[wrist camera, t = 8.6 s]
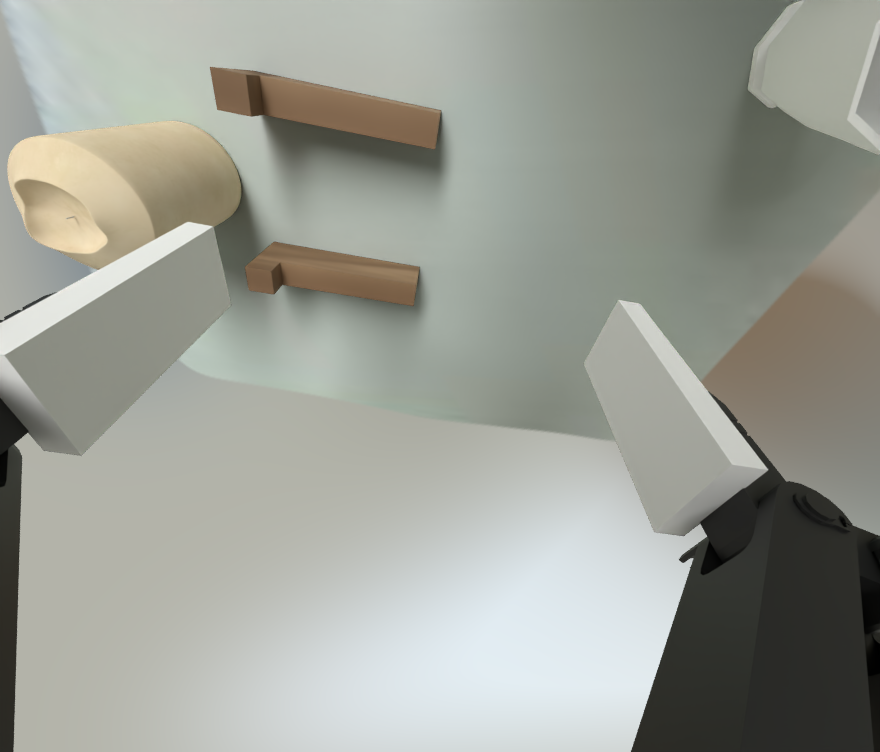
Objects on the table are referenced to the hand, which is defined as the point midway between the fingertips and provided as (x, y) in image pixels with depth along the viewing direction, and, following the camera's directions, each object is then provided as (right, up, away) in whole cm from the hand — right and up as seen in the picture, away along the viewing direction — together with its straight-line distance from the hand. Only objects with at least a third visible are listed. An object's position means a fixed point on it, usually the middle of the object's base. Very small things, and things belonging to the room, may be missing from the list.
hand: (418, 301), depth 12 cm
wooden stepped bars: (-5, +9, +10) cm, 14 cm away
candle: (-14, +10, +10) cm, 20 cm away
